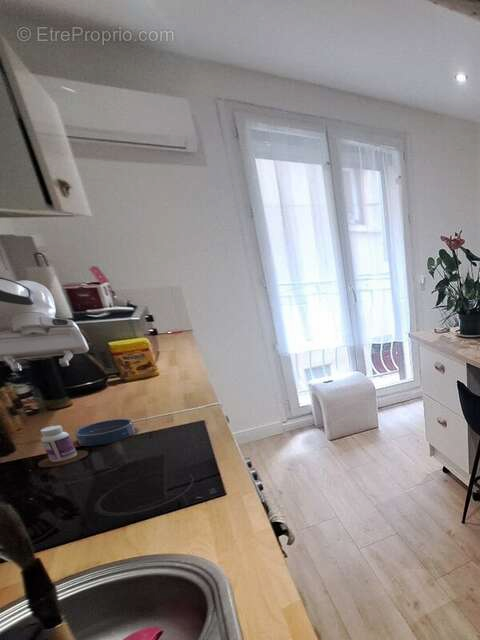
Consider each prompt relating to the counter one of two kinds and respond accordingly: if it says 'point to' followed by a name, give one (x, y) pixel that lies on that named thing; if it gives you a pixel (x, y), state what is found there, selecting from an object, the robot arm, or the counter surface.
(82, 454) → the coaster
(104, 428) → the bowl
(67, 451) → the pill bottle
